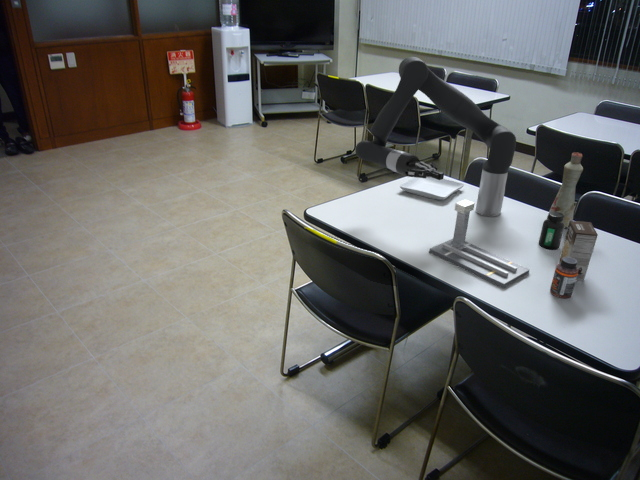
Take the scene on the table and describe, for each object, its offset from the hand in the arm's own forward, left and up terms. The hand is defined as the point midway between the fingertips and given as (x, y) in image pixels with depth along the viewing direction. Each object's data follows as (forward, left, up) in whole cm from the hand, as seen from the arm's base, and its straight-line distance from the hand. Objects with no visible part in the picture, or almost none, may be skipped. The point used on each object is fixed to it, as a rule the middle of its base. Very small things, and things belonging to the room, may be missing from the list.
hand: (442, 176), depth 170 cm
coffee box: (-18, +40, -24) cm, 50 cm away
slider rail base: (0, +18, -24) cm, 30 cm away
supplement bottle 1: (-30, +26, -24) cm, 46 cm away
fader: (0, +10, -22) cm, 24 cm away
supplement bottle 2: (-4, +44, -24) cm, 50 cm away
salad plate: (-38, -32, -24) cm, 55 cm away
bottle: (-50, +19, -24) cm, 59 cm away
